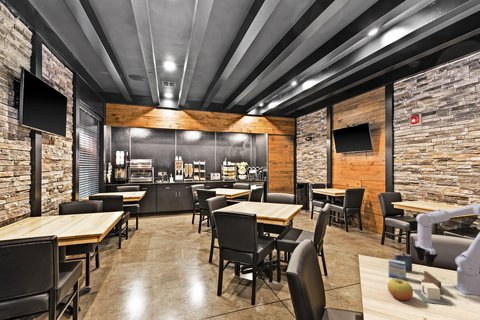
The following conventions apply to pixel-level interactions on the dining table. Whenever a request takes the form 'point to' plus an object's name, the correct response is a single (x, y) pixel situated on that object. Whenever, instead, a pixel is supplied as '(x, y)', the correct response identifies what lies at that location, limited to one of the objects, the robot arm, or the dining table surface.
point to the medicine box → (397, 269)
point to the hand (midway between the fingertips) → (425, 263)
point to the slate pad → (434, 301)
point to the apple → (400, 289)
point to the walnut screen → (432, 280)
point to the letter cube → (430, 291)
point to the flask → (404, 260)
